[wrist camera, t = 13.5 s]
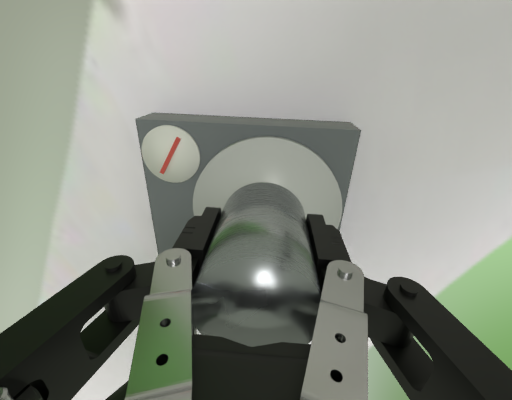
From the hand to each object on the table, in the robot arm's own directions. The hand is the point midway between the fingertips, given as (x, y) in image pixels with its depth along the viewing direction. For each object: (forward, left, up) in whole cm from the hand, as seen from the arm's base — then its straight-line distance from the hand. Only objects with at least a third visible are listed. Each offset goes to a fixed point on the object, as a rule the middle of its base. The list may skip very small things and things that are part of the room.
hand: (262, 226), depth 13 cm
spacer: (0, 0, -1) cm, 1 cm away
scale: (+2, +3, -10) cm, 11 cm away
